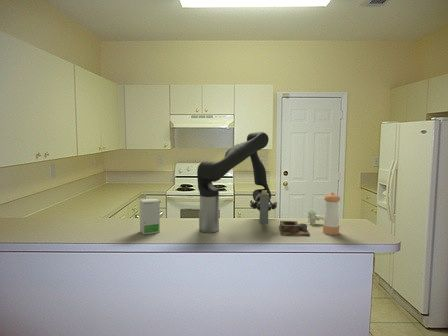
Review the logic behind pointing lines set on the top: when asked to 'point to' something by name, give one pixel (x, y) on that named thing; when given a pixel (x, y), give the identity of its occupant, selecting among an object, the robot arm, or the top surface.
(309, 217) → the valve
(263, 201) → the grey square column
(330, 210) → the pepper shaker
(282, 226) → the bit block
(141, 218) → the skincare box
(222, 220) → the top surface
